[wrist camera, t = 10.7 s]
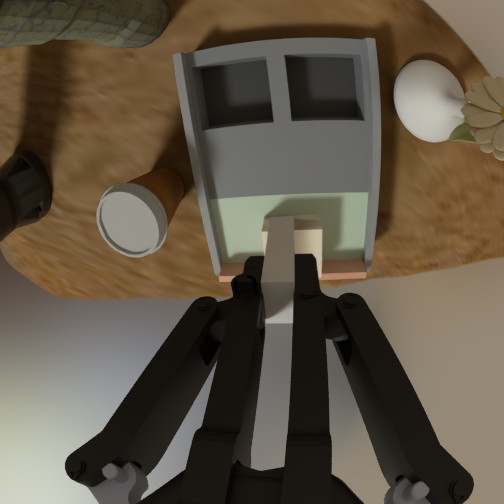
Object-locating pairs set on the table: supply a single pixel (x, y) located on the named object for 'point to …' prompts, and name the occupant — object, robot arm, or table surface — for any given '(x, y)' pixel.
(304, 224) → the birch block
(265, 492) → the robot arm
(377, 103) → the box
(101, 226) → the disposable coffee cup
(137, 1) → the thermos
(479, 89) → the flower in vase
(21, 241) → the table surface
